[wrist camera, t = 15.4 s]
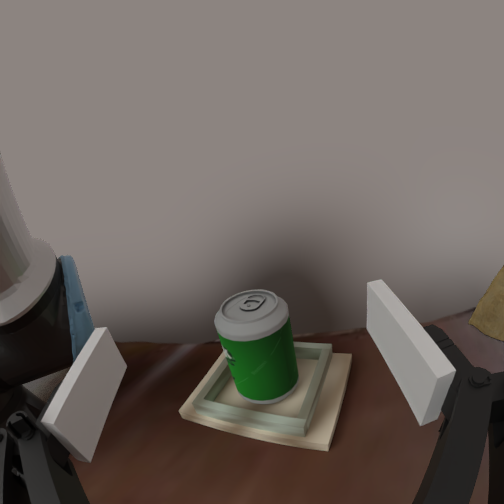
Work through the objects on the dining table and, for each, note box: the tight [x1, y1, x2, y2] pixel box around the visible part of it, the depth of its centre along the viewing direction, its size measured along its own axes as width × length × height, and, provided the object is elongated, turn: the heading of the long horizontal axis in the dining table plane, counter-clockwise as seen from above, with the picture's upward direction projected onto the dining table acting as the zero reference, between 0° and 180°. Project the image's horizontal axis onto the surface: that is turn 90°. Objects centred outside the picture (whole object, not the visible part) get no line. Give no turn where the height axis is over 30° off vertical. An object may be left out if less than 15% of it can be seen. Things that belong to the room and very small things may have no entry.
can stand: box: [179, 342, 352, 451], centre depth 33 cm, size 18×14×4 cm
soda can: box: [214, 290, 299, 404], centre depth 31 cm, size 8×8×12 cm
